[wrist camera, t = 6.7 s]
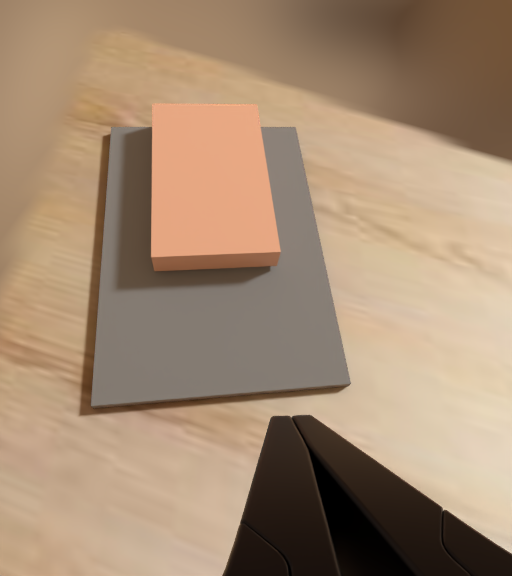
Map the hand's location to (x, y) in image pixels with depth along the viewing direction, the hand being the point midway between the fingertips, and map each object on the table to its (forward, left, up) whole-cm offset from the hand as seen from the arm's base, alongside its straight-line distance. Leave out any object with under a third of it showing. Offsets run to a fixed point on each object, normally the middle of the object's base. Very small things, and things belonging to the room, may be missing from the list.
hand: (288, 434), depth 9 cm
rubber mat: (+10, +8, -12) cm, 18 cm away
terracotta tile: (+8, +7, -11) cm, 15 cm away
